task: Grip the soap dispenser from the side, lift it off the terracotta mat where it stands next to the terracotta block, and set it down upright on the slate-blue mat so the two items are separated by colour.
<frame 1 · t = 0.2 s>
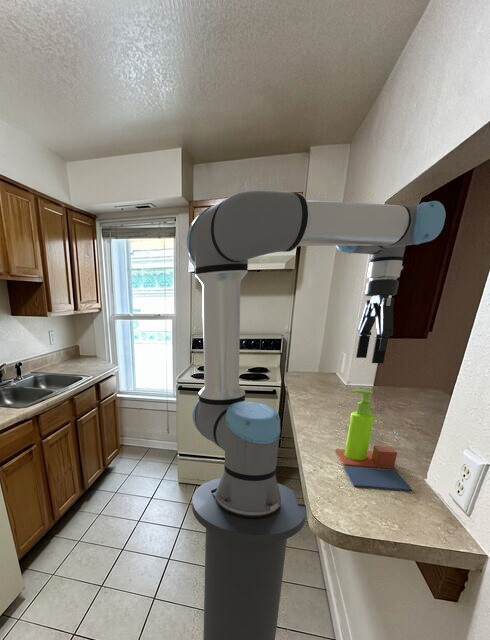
hand: (368, 360, 101), 28 cm above the worktop, tool pointing down, fingers open, 13 cm apart
terracotta mat: (363, 459, 105), on the worktop
soap dispenser: (353, 456, 106), resting on terracotta mat
slate mat: (375, 478, 93), on the worktop
terracotta block: (382, 463, 101), resting on terracotta mat
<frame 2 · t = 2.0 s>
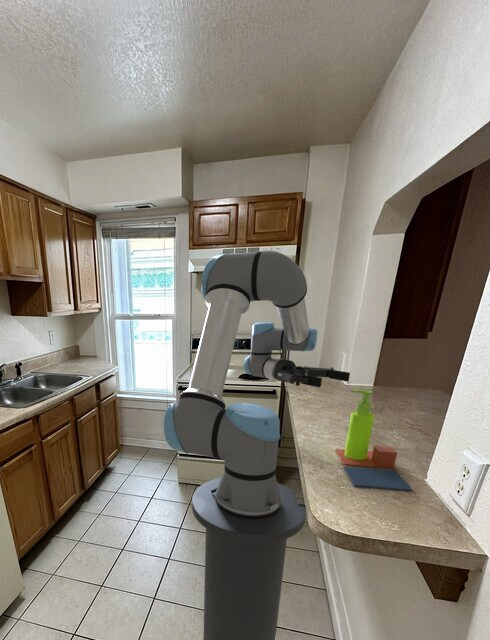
hand: (335, 379, 106), 22 cm above the worktop, tool horizontal, fingers open, 13 cm apart
nothing on the worktop moved.
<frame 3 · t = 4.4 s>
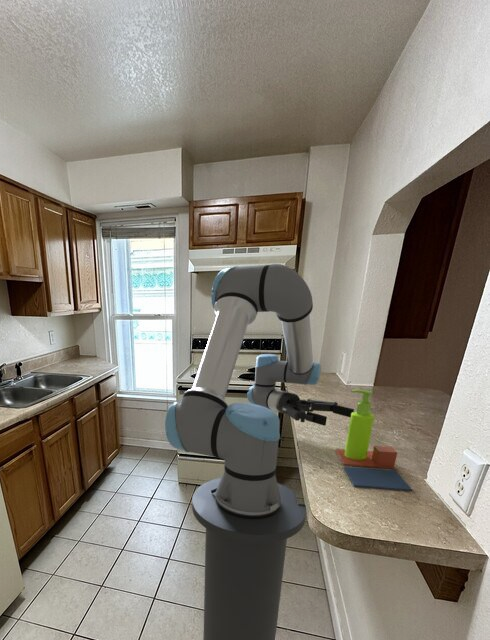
hand: (339, 417, 108), 11 cm above the worktop, tool horizontal, fingers open, 13 cm apart
nothing on the worktop moved.
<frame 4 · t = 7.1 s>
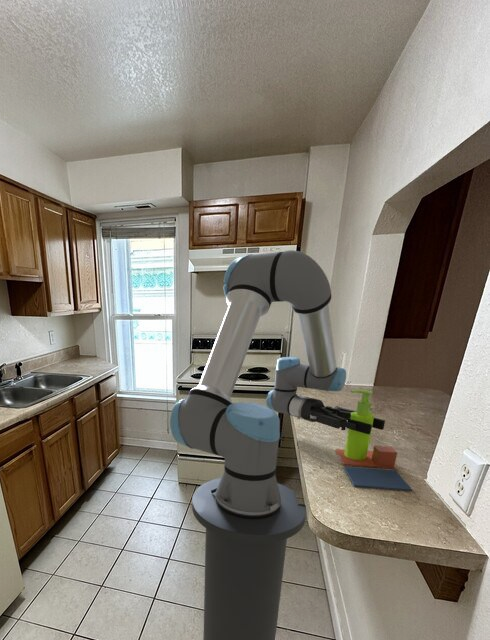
hand: (376, 427, 99), 11 cm above the worktop, tool horizontal, fingers closed on soap dispenser, 6 cm apart
soap dispenser: (353, 456, 106), resting on terracotta mat, touching gripper
everything else where it was.
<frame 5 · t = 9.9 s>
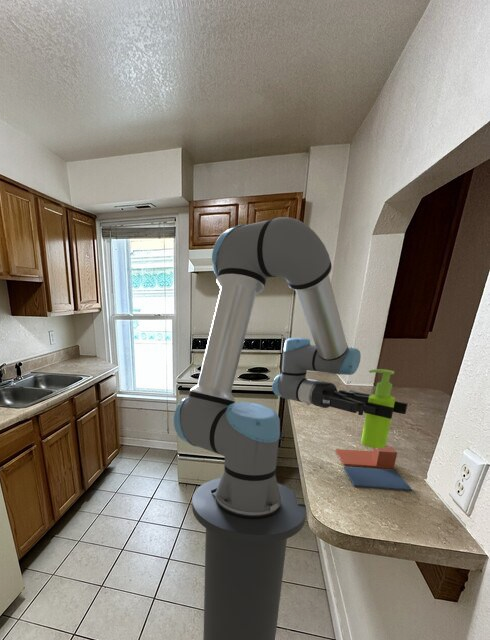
hand: (398, 411, 88), 18 cm above the worktop, tool horizontal, fingers closed on soap dispenser, 6 cm apart
soap dispenser: (370, 444, 96), point 8 cm above the worktop, touching gripper
everything else where it was.
when the fingers open (11 cm above the worktop, at t = 13.1 s): soap dispenser stays where it is, resting on slate mat.
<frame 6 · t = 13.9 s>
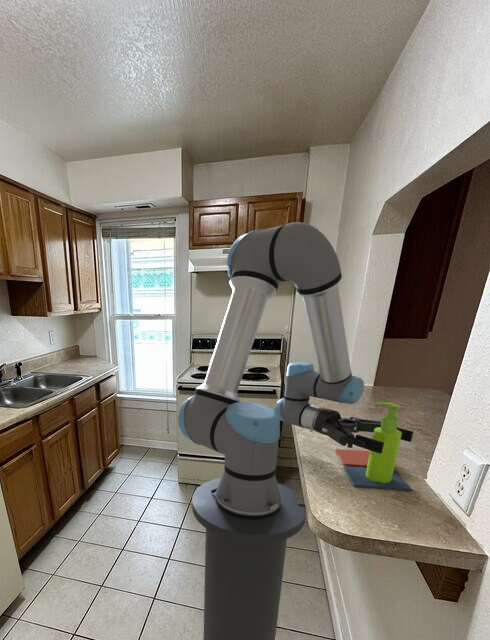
hand: (397, 442, 87), 12 cm above the worktop, tool horizontal, fingers open, 13 cm apart
soap dispenser: (375, 477, 93), resting on slate mat
everything else where it was.
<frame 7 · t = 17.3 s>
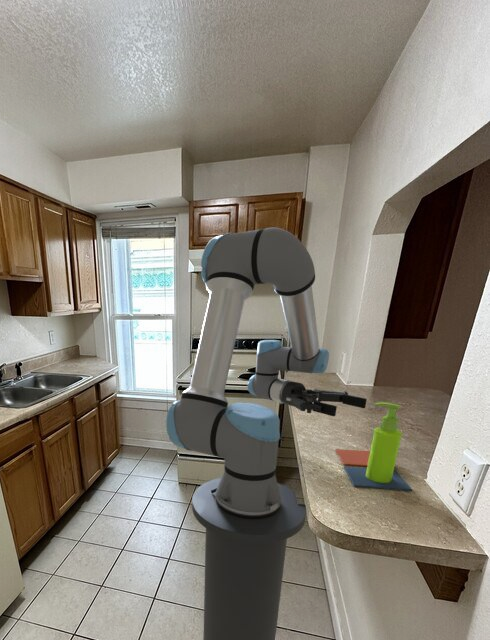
hand: (350, 407, 96), 17 cm above the worktop, tool horizontal, fingers open, 13 cm apart
nothing on the worktop moved.
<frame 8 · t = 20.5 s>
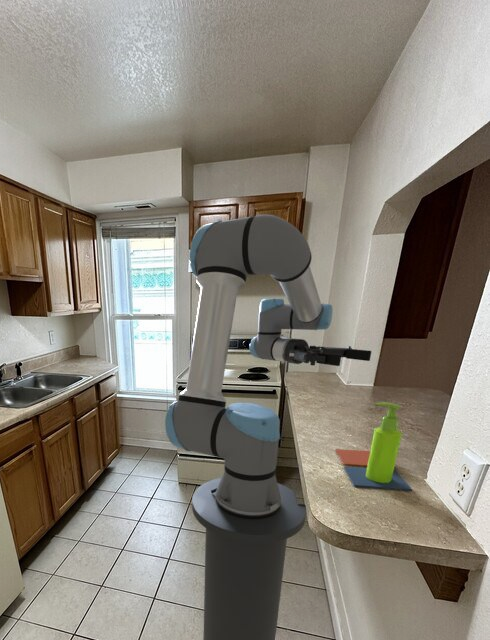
hand: (355, 358, 94), 30 cm above the worktop, tool horizontal, fingers open, 13 cm apart
nothing on the worktop moved.
at the end: soap dispenser inside the target area on the slate mat (0.0 cm from its centre), point 0.3 cm above the slate mat's base; soap dispenser tilted 0°; terracotta block inside the target area on the terracotta mat (5.3 cm from its centre), point 0.5 cm above the terracotta mat's base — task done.
